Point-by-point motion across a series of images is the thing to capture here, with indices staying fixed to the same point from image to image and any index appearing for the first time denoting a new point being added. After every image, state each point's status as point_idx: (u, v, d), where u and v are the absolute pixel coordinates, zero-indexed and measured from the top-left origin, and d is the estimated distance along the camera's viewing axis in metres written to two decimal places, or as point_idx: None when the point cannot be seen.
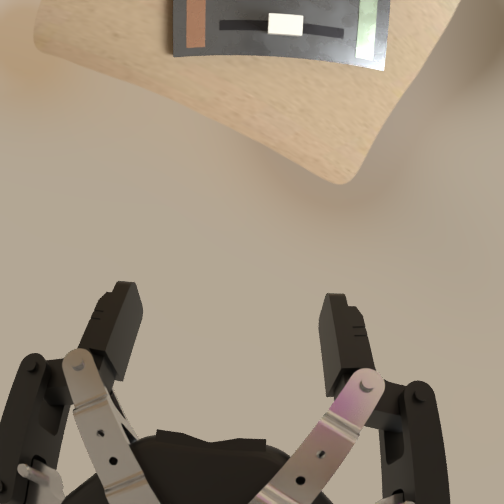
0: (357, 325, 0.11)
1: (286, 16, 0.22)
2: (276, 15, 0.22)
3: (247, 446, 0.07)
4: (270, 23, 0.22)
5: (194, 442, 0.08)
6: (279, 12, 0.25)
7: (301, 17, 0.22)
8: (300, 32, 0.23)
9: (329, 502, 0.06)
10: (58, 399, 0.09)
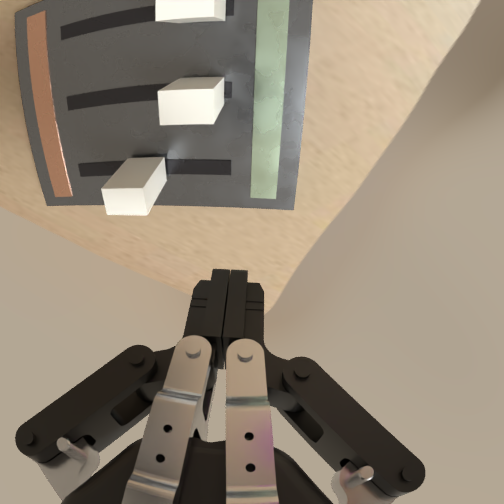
0: (255, 300, 0.12)
1: (122, 191, 0.19)
2: (110, 191, 0.19)
3: None
4: (106, 202, 0.19)
5: (194, 442, 0.08)
6: (142, 147, 0.22)
7: (141, 190, 0.19)
8: (144, 211, 0.20)
9: (329, 502, 0.06)
10: None
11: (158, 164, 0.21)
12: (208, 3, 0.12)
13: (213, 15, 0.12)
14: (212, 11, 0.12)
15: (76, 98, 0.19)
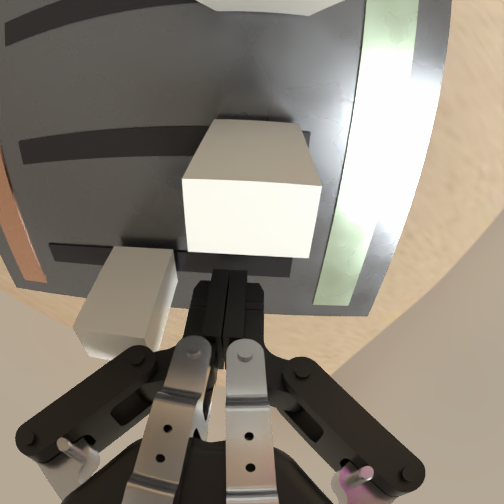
0: (256, 300, 0.12)
1: (108, 337, 0.10)
2: (88, 333, 0.10)
3: None
4: (85, 344, 0.11)
5: (194, 442, 0.08)
6: (145, 231, 0.14)
7: (141, 340, 0.10)
8: None
9: (329, 502, 0.06)
10: None
11: (164, 269, 0.13)
12: None
13: None
14: None
15: (33, 145, 0.11)
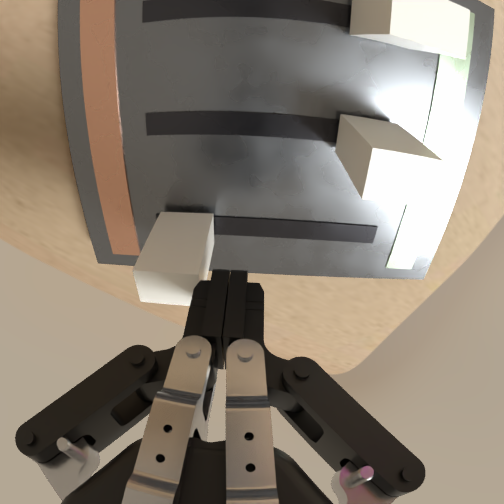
0: (256, 300, 0.12)
1: (165, 276, 0.14)
2: (146, 274, 0.13)
3: None
4: (140, 287, 0.14)
5: (194, 442, 0.08)
6: (263, 201, 0.17)
7: (195, 277, 0.13)
8: None
9: (329, 502, 0.06)
10: None
11: (208, 227, 0.16)
12: (461, 37, 0.07)
13: (464, 57, 0.07)
14: (464, 51, 0.07)
15: (162, 117, 0.14)
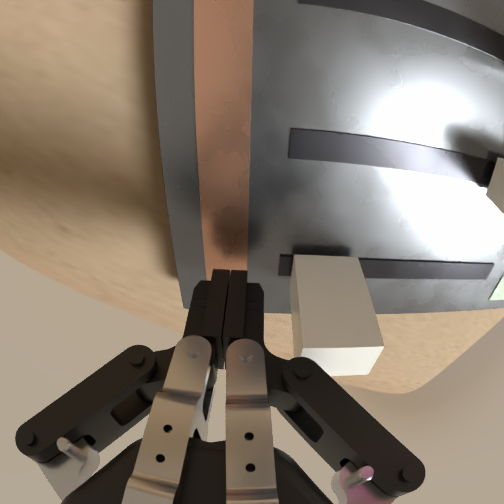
0: (255, 300, 0.12)
1: (344, 351, 0.10)
2: (320, 351, 0.10)
3: None
4: None
5: (194, 442, 0.08)
6: (406, 242, 0.14)
7: (378, 349, 0.10)
8: (366, 370, 0.11)
9: (329, 502, 0.06)
10: None
11: (362, 277, 0.13)
12: None
13: None
14: None
15: (314, 137, 0.11)
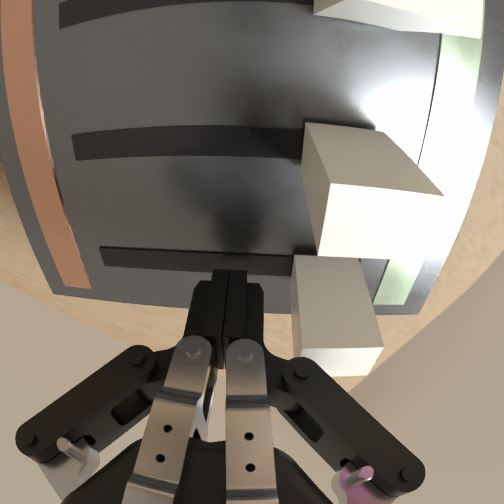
0: (255, 300, 0.12)
1: (343, 352, 0.10)
2: (319, 352, 0.10)
3: None
4: None
5: (194, 442, 0.08)
6: (215, 233, 0.14)
7: (378, 350, 0.10)
8: (365, 371, 0.11)
9: (329, 502, 0.06)
10: None
11: (362, 278, 0.13)
12: (473, 4, 0.04)
13: (478, 35, 0.04)
14: (478, 25, 0.04)
15: (90, 139, 0.11)
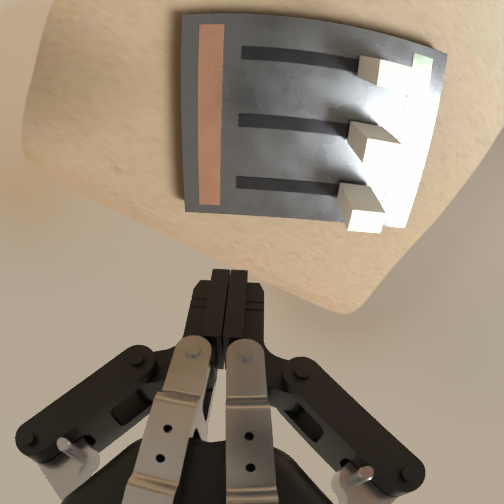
0: (255, 300, 0.12)
1: (369, 213, 0.24)
2: (359, 212, 0.24)
3: None
4: (351, 220, 0.25)
5: (194, 442, 0.08)
6: (304, 170, 0.28)
7: (383, 214, 0.24)
8: (379, 230, 0.25)
9: (329, 502, 0.06)
10: None
11: (373, 192, 0.27)
12: (412, 84, 0.18)
13: (413, 93, 0.18)
14: (413, 90, 0.18)
15: (249, 117, 0.25)
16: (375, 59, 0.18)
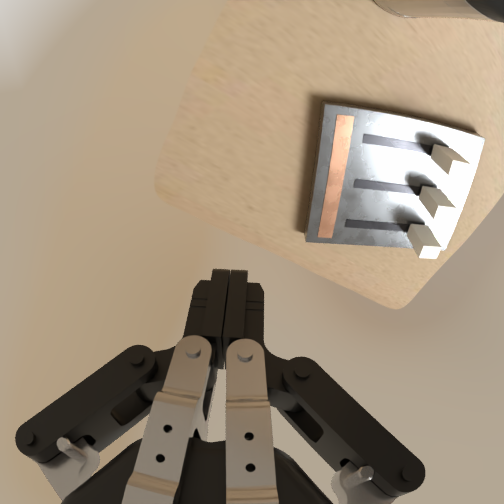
0: (256, 300, 0.12)
1: (432, 247, 0.36)
2: (427, 247, 0.36)
3: None
4: (422, 252, 0.37)
5: (194, 442, 0.08)
6: (389, 216, 0.40)
7: (440, 248, 0.36)
8: (436, 256, 0.37)
9: (329, 502, 0.06)
10: None
11: (431, 231, 0.39)
12: (467, 173, 0.30)
13: (466, 178, 0.30)
14: (467, 177, 0.30)
15: (361, 181, 0.37)
16: (448, 157, 0.30)
